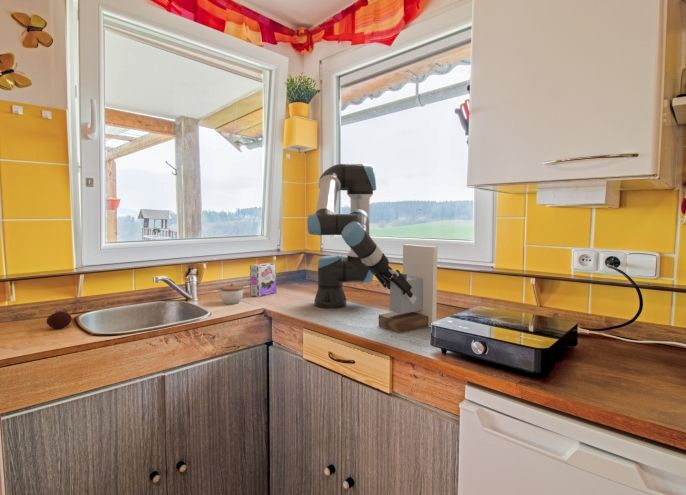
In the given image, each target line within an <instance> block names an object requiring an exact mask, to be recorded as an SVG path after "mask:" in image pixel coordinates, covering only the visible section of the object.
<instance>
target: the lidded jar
mask: <svg viewBox="0 0 686 495" xmlns="http://www.w3.org/2000/svg"><path fill="white" fill-rule="evenodd" d="M219 290H220V297H221V300H222V302H224V303H225V305H226V304H227V305H237V304H239V303H240V302H241V300H242V299H243V297H244V286H243V285H240V284H234V283H232V282H231V283H230V285H223V286H221V287H219Z"/></svg>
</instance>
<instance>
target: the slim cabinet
mask: <svg viewBox="0 0 686 495" xmlns="http://www.w3.org/2000/svg"><path fill="white" fill-rule="evenodd" d="M400 273H401V272H400ZM401 275H402V276H403V277H404V278H405V279H406V281H407V282H408V283H409V284H410V285H411V286H412V288H411V290H410V291H411V292H412V293H413V294H414V296H415V297H416V298H417V299H416V301H415V302H414V304H411V303H410V301H409V300H408V299H407V298H406V297H405V295H403V291H402V290H401V289H400V288H398V287H397V286H396V285H395V284H394V283H393V282H392V281H390V290H389V291H390V293H389V311H390V312H396V313H400V314H403V313H408V312H414V311H419V310H422V308H423V278H418V277H412V276H411V277H407V274H403V272H402V273H401Z"/></svg>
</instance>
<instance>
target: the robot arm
mask: <svg viewBox="0 0 686 495" xmlns="http://www.w3.org/2000/svg"><path fill="white" fill-rule="evenodd" d="M376 180H377V179H376V173H375V168H374V165H372V164H370V163H337V164H334V165H332V166H331V167H329V168H327V169H326V170H325V171H324V172H323V173H322V174H321V175H320V176H319V180H318V185H317V187H318V189H319V191H318V197H317V202H316V206H315V207H316V208H315V213H313V214H312V213H311V214H309V215H308V216H307V224H306V225H307V233H308V234H309V235H313V236H341V238H342V239H343V242H345V243H346V245H348V247H349V248H350V250H349V251H348V252H347V255H346V256H347V257H344V255H343V254H341V253H340V254H330V255H325V256H324V255H323V256H321V257H319V258H318V260H317V290H316V294H315V297H314V304H313V305H314V306H315V307H317V308H323V309H337V308H343V307H346V306H347V300H348V299H347V297H346V293H345V292H344V291H345V290H344V283H345V284H346V283H351V284H352V283H353V284H355V283H356V284H357V283H358V284H359V283H360V284H364V283H365V284H367V283H372V282H373V280H374V278H376V280H378V281H379V283H380V285H381V286H383V288H386V289H387V290H389V291H390V281H392V282H393V283H394V284H395V285H396V286H397V287H398V288H400V289H401V290H402V291H403V295H405V297H406V298H407V299H408V300H409V301H410V303H411V304H414V302H415V301H416V299H417V298H416V297H415V296H414V294H413V293H412V292H411V291H410V290H411V288H412V286H411V285H410V284H409V283H408V282H407V281H406V279H405V278H404V277H403V276H402V275H401V272H400V270H399V269H396V270H393V268H392V267H391V266H389V258H388V256H386V255H385V254H384V252H383V251H382V250H381V248H380V247H379V245H378V244H377V243H375V241H374V240H373V238H372V237H371V235H370V202H371V201H370V198H371V197H372V196H373V195H374V191H377V182H376ZM339 191H346V195H347V196H348V198H350V212H349V213H348V214H347V213H343V214H342V213H341V214H340V213H338V214H337V213H336V210H337V201H338V193H339Z"/></svg>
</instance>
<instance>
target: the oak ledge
mask: <svg viewBox="0 0 686 495" xmlns="http://www.w3.org/2000/svg"><path fill="white" fill-rule="evenodd" d="M378 326H380V327H382V328H385V329H388V330H391V331H393V332H396V333H398V334H403V333H408V332H411V331H417V330H420V329H426V328H429V327H428V316H426V315H422V314H419V313H415V312H408V313H403V314H400V313H396V312H393V311H390V312H387V313H381V314H378Z"/></svg>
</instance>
